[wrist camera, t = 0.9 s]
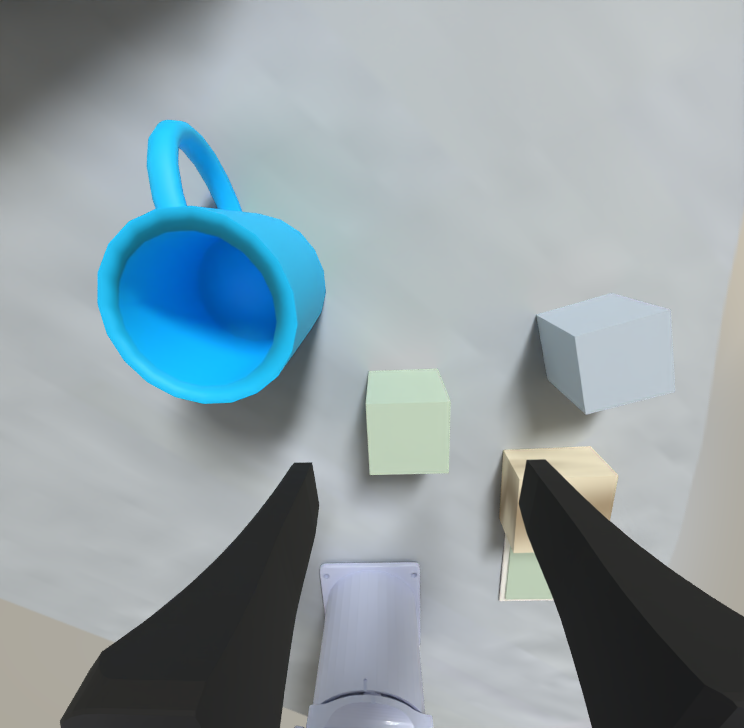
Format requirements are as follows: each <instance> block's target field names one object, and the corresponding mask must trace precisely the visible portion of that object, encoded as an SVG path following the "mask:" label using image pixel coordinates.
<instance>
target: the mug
mask: <svg viewBox="0 0 744 728" xmlns="http://www.w3.org/2000/svg"><path fill="white" fill-rule="evenodd" d="M179 148H180V149H181V150H182V151H183V152H184V153H185V154H186V155H187V157H188V158H189V159H190V160H191V161H192V163H193V164H194V165H195V167H196V168H197V170H198V172H199V173H200V175H201V177H202V178H203V180H204V182H205V183H206V185H207V187H208V189H209V191H210V193H211V195H212V197H213V199H214V201H215V204H216V206H217V208H218V209H214V208H205V207H197V206H187V204H186V201H185V197H184V194H183V189H182V183H181V177H180V172H179V166H178V151H179ZM147 170H148V176H149V182H150V188H151V194H152V199H153V202H154V205H155V208H156V209H154V210H152V211H150V212H148V213H146V214H144V215H142V216H140V217H137V218H135V219H133V220H131V221H129V222H128V223H127V224H126V225H125V226H124V227H123V228H122V230H121V231H120V232H119V233H118V234H117V235H116V236H115V237H114V238H113V239H112V241H111V242H110V243H109V244H108V246H107V249H106V252H105V254H104V257H103V260H102V262H101V265H100V268H99V271H98V307H99V310H100V313H101V316H102V320H103V323H104V326H105V329H106V333H107V335H108V336H109V338H110V340H111V341H112V343H113V344H114V346H115V347H116V349H117V350H118V352H119V353H120V355H121V357H122V358H123V360H124V361H125V362H126V363H127V364H128V365H129V366H130V367H131V368H133V369H134V370H135V371H136V372H137V373H138V374H139V375H140V376H141V377H142V378H143V379H145V380H146V381H147V382H148V383H150V384H152V385H153V386H155V387H157V388H159V389H161V390H163V391H165V392H167V393H168V394H170V395H172V396H174V397H177V398H181V399H185V400H190V401H194V402H198V403H202V404H211V403H232V402H235V401H237V400H240V399H243V398H246V397H248V396H251V395H254V394H256V393H258V392H259V391H260V390H262V389H263V388H264V387H265V386H267V385H268V384H269V383H270V382H272V381H273V380H274V379H275V378H276V377H278V375H279V374H280V373H281V371H282V370H283V368H284V367H285V366H286V364H287V363H288V361H289V360H290V358H291V357H292V356H293V354H294V353H295V351H296V350H297V348H298V347H299V346H300V344H301V343H302V341H303V340H304V339H305V337H306V336H307V334H308V333H309V331H310V330H311V329H312V327H313V325H314V324H315V322H316V320H317V319H318V317H319V315H320V314H321V312H322V307H323V303H324V298H325V293H326V289H325V279H324V270H323V268H322V266H321V263H320V261H319V259H318V256H317V254H316V252H315V250H314V248H313V247H312V246H311V245H310V244H309V242H308V241H307V240H306V239H305V238H304V236H303V235H302V234H301V233H300V232H299V231H297V230H296V229H294V228H293V227H291V226H290V225H288V224H286V223H285V222H283V221H282V220H280V219H276V218H273V217H269V216H265V215H262V214H257V213H248V212H242V210H241V207H240V204H239V201H238V199H237V197H236V195H235V192H234V190H233V188H232V185H231V183H230V181H229V179H228V176H227V175H226V173H225V171H224V169H223V167H222V165H221V164H220V162H219V160H218V158H217V156H216V154H215V153H214V152H213V150H212V149H211V147H210V146H209V145H208V143H207V142H206V141H205V139H204V138H203V137H202V136H201V135H200V134H199V133H198V132H197V131H196V130H195V129H194V128H192V127H191V126H190V125H189V124H188V123H186V122H183V121H175V120H164V121H162V122H160V123H159V124H158V125H157V126H156V128H155V129H154V131H153V132H152V134H151V135H150V137H149V139H148V151H147Z"/></svg>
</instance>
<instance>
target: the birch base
mask: <svg viewBox="0 0 744 728" xmlns="http://www.w3.org/2000/svg"><path fill="white" fill-rule="evenodd" d="M538 459H546V460H547V461H548V462H549V463H550V464H551V465H552V466H553V467H554V468H555V469H556V470H557V471H558V472H559V473H560V474H561V475H562V476H563V477H564V478H565V479H566V480H567V481H568V482H569V483H570V484H571V485H572V486H573V487H574V488H575V489H576V490H577V491H578V492H579V493H580V494H581V495H582V496H583V497H584V498H585V499H586V500H587V501H589V502H590V503H591V504H592V505H593V506H594V507H595V508H596V509H597V510H598V511H599V512H600V513H601V514H603V515H604V516H605V517H606V518H607V519H608V520H609V521H610V517H611V512H612V507H613V501H614V496H615V491H616V486H617V480H618V475H617V473H616V472H615V471H614V470H613V469H612V468H611V467H610V466H609V465H608V464H607V463H606V462H605V461H604V460H603V459H602V458H601V457H600V456H599V455H598V454H597V453H596V452H595V451H594V450H593V448H592V447H591V446H588V447H564V448H540V449H515V450H503V464H502V480H501V496H500V511H499V519H500V521H501V524H502V526H503V529H504V531H505V534H506V536H507V539H508V541H509V544H510V546H511V548H512V551H513V553H534V551H533V548H532V546H531V543H530V541H529V538H528V536H527V533H526V529H525V526H524V522H523V519H522V515H521V511H520V507H519V498H520V493H521V487H522V482H523V476H524V471H525V466H526V460H538Z"/></svg>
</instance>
